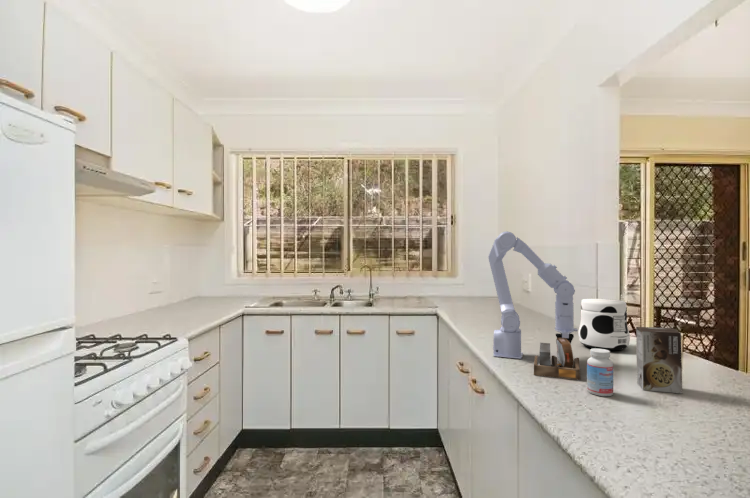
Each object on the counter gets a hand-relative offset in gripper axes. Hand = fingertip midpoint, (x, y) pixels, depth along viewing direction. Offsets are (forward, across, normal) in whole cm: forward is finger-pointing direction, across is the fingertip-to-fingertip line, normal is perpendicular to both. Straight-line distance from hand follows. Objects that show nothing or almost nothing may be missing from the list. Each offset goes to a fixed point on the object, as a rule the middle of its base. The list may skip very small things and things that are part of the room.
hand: (564, 355), depth 142 cm
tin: (+2, -9, 0) cm, 9 cm away
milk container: (+2, +24, -14) cm, 28 cm away
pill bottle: (+2, -33, -7) cm, 34 cm away
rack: (+1, -15, +3) cm, 15 cm away
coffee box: (+2, -23, -22) cm, 32 cm away
